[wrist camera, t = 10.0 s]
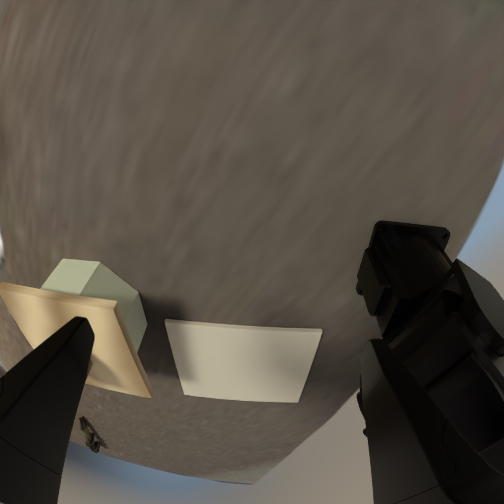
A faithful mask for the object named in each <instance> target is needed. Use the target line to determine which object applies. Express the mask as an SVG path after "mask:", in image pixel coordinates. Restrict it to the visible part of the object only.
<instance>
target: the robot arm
mask: <svg viewBox="0 0 504 504" xmlns="http://www.w3.org/2000/svg"><path fill="white" fill-rule="evenodd" d="M381 227H384V228H383V229H382V230H379V229H380V228H381ZM443 234H445V235H444V236H443ZM449 237H450V232H449V231H448V230H447V228H443V227H435V226H427V225H418V224H410V223H400V222H391V221H378V222H377V223H376V224H375V226H374V229H373V233H372V236H371V240H370V243H369V247H368V248H367V249H366V250H365V252H364V255H363V258H362V262H361V265H360V268H359V272H358V275H357V278H358V283H357V286H356V291H357V293H358V294H359V295H363V296H364V299H365V302H366V306H367V309H368V312H369V314H370V315H371V316H376V318H377V322H378V325H379V328H380V331H381V335H382V337H383V339H370V340H369V341H368V343H367V345H366V347H365V349H364V351H363V353H362V355H361V375H360V392H358V393H357V401H358V404H359V408H360V411H361V413H362V415H363V417H364V419H365V423H366V428H365V429H364V430H363V433H364V435H366V437H367V438H368V446H369V455H370V464H371V474H372V486H373V500H374V504H504V300H503V299H502V297H501V296H500V295H499V293H498V292H497V290H496V289H495V288H494V287H493V285H492V284H491V283H490V282H489V281H487V280H486V279H485V278H483V277H482V276H481V275H479V274H478V273H477V272H475V271H474V270H473V269H471V268H470V267H469V266H467V265H466V264H464V263H463V262H462V261H460V260H459V259H457V258H456V259H455V261H454V262H453V263H452V261H451V260H450V259H449V257H448V256H447V254H446V253H445V251H444V250H445V247H446V245H447V243H448V240H449ZM94 341H95V334H94V331H93V329H92V327H91V325H90V323H89V321H88V319H87V318H86V317H81V316H75V317H74V318H72V319H71V320H70V321H68V322H67V323H66V324H65V325H63V326H62V327H61V328H60V329H58V330H57V331H56V332H55V333H53V334H52V335H51V336H50V337H48V338H47V339H46V340H45V341H44V342H42V343H41V344H40V345H39V346H37V347H36V348H35V349H34V350H33V351H31V352H30V353H29V354H28V355H27V356H25V357H24V358H23V359H22V360H21V361H20V362H18V363H17V364H16V365H15V366H14V367H13V368H11V369H10V370H9V371H8V372H7V373H6V374H5V375H3V376H2V377H1V378H0V504H57V502H58V495H59V488H60V483H61V478H62V476H61V475H62V472H63V467H64V462H65V457H66V452H67V448H68V443H69V439H70V435H71V431H72V427H73V423H74V419H75V416H76V412H77V408H78V405H79V401H80V398H81V394H82V391H83V388H84V384H85V381H86V377H87V373H88V368H89V363H90V359H91V354H92V350H93V345H94Z"/></svg>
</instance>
